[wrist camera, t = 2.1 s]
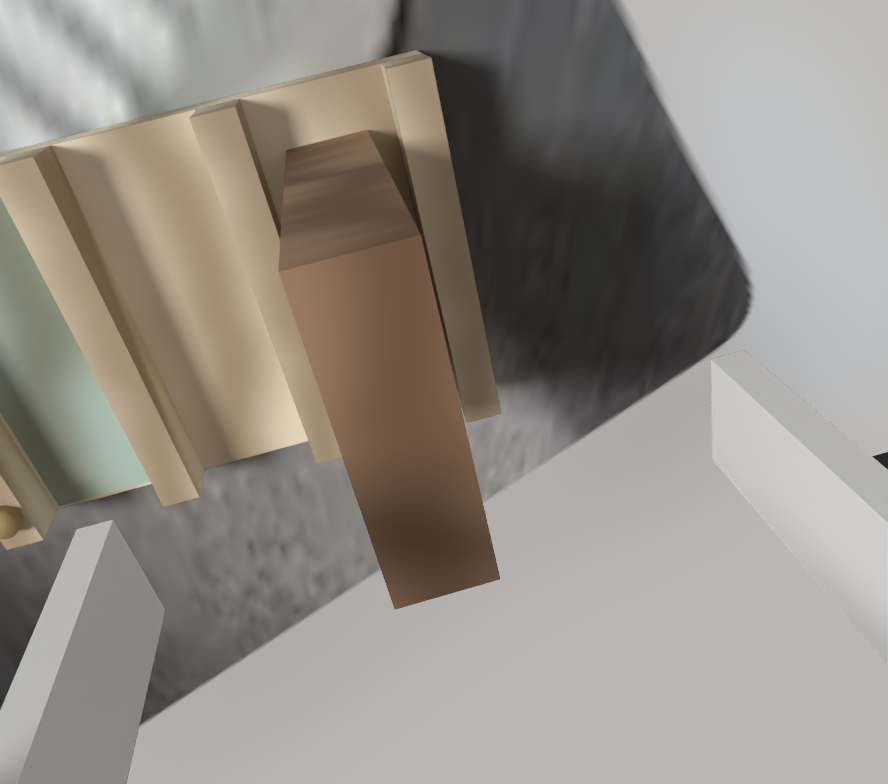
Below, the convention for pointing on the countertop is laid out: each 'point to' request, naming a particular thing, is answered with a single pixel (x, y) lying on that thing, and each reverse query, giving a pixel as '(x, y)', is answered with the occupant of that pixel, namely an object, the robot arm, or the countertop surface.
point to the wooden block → (383, 367)
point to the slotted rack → (195, 288)
